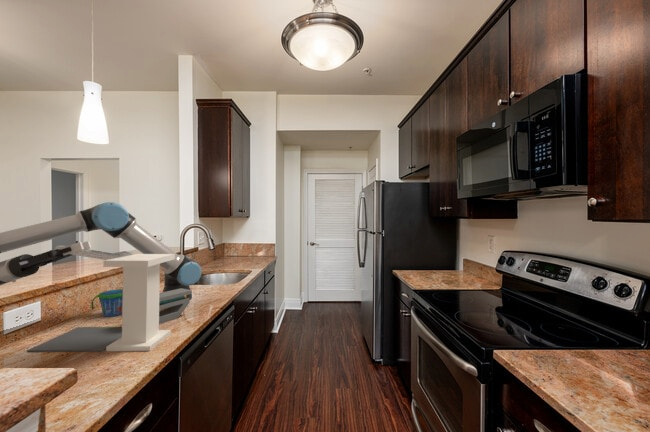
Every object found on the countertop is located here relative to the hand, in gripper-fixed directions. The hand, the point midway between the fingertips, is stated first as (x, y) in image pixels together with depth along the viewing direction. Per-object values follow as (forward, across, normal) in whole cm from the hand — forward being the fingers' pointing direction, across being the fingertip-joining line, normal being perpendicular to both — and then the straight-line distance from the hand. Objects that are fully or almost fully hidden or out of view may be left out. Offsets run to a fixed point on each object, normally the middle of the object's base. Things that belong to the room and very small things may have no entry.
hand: (85, 245), depth 101 cm
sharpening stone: (+3, -20, -38) cm, 43 cm away
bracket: (-1, -3, -4) cm, 5 cm away
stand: (+7, +2, -39) cm, 40 cm away
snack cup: (-20, -30, -30) cm, 46 cm away
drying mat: (-11, -2, -32) cm, 34 cm away
